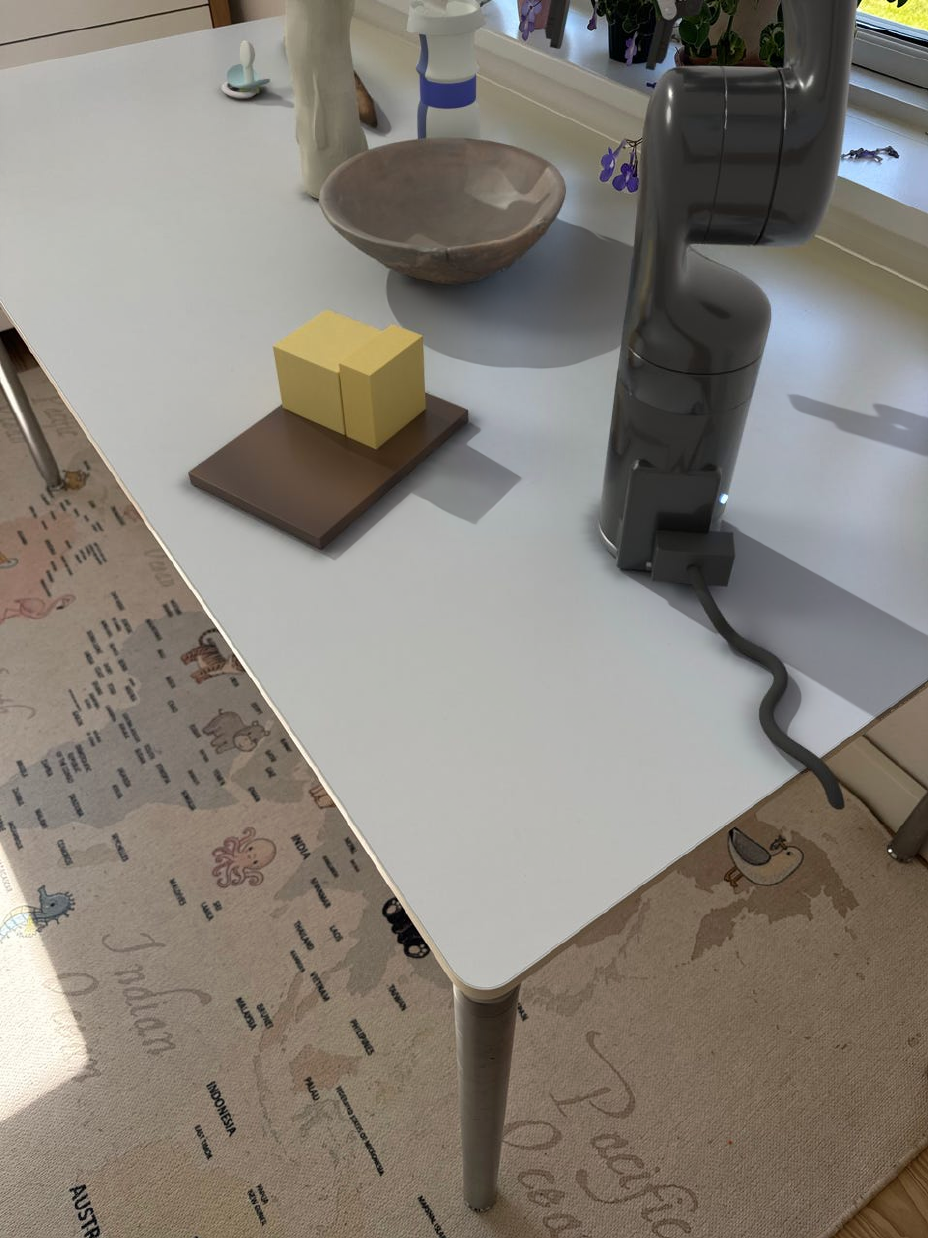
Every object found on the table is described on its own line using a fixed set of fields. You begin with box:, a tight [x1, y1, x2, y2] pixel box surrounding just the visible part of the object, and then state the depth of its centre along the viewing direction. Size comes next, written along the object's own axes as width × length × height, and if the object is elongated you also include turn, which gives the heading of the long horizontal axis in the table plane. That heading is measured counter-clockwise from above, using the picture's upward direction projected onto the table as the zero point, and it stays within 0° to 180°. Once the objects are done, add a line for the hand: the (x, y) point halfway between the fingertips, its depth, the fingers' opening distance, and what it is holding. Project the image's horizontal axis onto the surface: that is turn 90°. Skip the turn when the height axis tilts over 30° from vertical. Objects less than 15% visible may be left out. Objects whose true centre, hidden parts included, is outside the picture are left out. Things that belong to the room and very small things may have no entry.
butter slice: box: [339, 323, 426, 449], centre depth 83 cm, size 7×3×7 cm, turn 145°
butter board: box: [187, 391, 469, 550], centre depth 85 cm, size 20×14×1 cm
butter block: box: [272, 309, 383, 435], centre depth 86 cm, size 7×7×6 cm
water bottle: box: [406, 0, 487, 140], centre depth 110 cm, size 8×9×25 cm
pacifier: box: [221, 39, 271, 99], centre depth 138 cm, size 7×6×6 cm
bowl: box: [318, 137, 567, 285], centre depth 104 cm, size 25×25×8 cm
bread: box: [283, 38, 379, 129], centre depth 140 cm, size 38×5×5 cm, turn 25°
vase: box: [283, 0, 370, 200], centre depth 108 cm, size 9×8×30 cm
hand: (602, 58), depth 87 cm, fingers open, 8 cm apart
